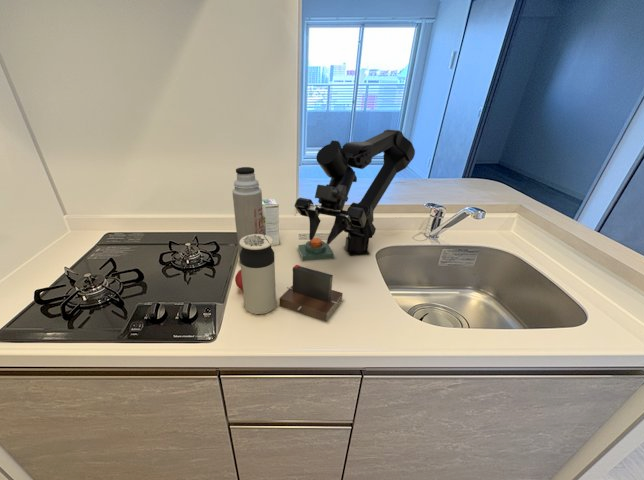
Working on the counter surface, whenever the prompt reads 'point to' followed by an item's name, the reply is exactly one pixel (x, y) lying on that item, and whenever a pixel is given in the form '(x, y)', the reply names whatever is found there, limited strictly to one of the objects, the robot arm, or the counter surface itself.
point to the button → (316, 242)
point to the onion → (239, 280)
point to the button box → (315, 251)
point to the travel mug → (258, 273)
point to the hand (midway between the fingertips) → (319, 241)
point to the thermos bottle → (247, 204)
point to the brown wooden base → (310, 304)
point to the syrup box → (271, 219)
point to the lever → (312, 283)
